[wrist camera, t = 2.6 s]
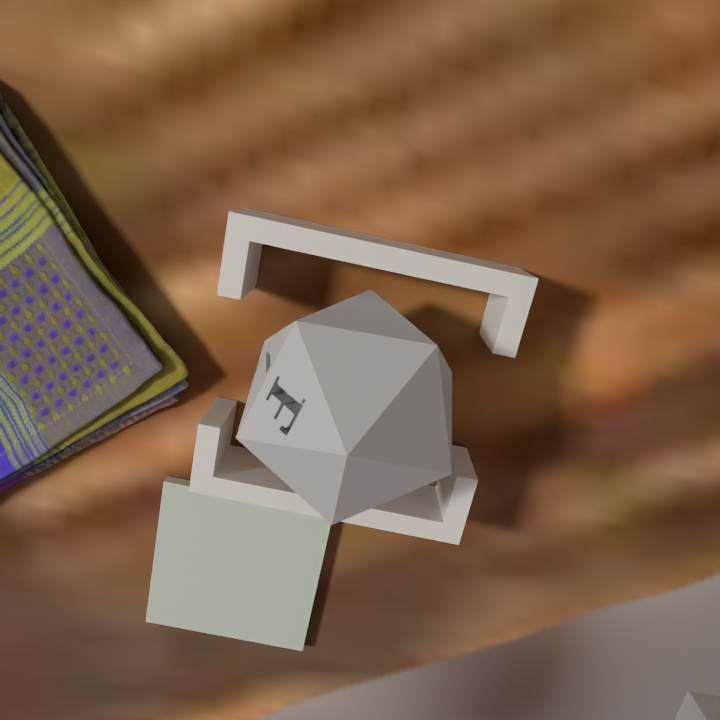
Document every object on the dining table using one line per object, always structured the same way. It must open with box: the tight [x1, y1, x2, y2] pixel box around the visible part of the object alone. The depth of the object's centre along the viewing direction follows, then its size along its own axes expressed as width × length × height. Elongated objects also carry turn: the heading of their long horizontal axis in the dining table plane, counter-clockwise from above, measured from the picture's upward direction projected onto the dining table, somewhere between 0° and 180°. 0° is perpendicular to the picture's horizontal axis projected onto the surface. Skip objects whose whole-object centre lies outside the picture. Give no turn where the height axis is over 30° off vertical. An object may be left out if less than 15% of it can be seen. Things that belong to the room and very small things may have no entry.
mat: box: [146, 476, 331, 651], centre depth 32 cm, size 9×9×1 cm
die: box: [236, 290, 452, 525], centre depth 25 cm, size 8×9×10 cm
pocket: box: [189, 208, 539, 545], centre depth 28 cm, size 13×13×4 cm
